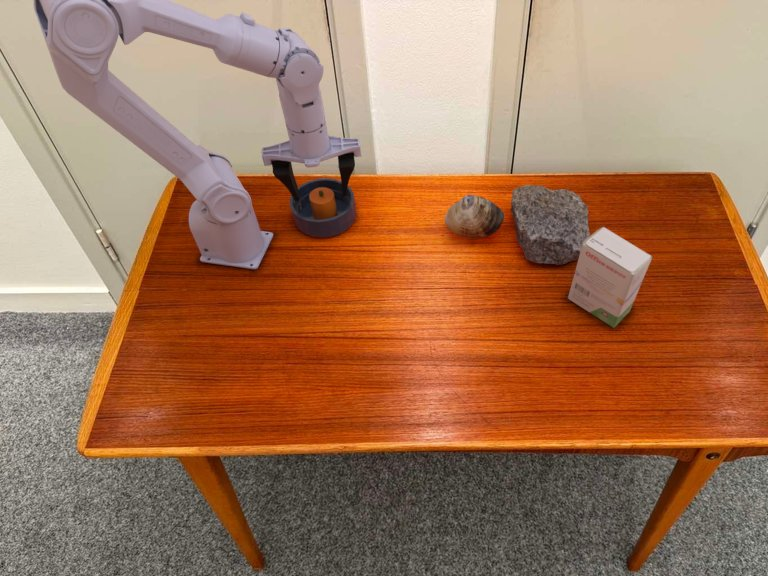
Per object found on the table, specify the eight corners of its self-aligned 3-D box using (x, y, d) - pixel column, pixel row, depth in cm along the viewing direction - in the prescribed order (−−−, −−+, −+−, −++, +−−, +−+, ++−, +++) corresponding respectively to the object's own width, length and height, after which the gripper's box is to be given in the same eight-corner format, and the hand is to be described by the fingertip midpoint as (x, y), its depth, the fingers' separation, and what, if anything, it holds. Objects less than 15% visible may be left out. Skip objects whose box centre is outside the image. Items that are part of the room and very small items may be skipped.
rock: (589, 272, 99) (581, 208, 108) (598, 242, 94) (589, 178, 103) (509, 267, 99) (507, 204, 108) (513, 237, 94) (512, 173, 103)
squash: (312, 223, 104) (306, 200, 100) (314, 206, 106) (309, 183, 102) (336, 223, 104) (331, 199, 100) (338, 206, 106) (334, 183, 102)
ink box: (566, 298, 95) (579, 243, 86) (586, 280, 98) (601, 224, 88) (613, 329, 92) (633, 275, 82) (633, 309, 94) (654, 254, 85)
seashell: (443, 246, 102) (443, 208, 95) (445, 221, 105) (445, 183, 99) (502, 248, 102) (506, 211, 95) (502, 223, 105) (506, 186, 98)
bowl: (285, 235, 103) (280, 217, 100) (305, 193, 109) (301, 174, 106) (347, 243, 102) (344, 225, 99) (363, 200, 108) (361, 182, 105)
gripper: (253, 143, 87) (275, 216, 98) (358, 133, 89) (367, 206, 100) (254, 113, 92) (275, 186, 103) (354, 104, 93) (364, 177, 104)
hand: (320, 194), depth 102 cm, fingers open, 7 cm apart
